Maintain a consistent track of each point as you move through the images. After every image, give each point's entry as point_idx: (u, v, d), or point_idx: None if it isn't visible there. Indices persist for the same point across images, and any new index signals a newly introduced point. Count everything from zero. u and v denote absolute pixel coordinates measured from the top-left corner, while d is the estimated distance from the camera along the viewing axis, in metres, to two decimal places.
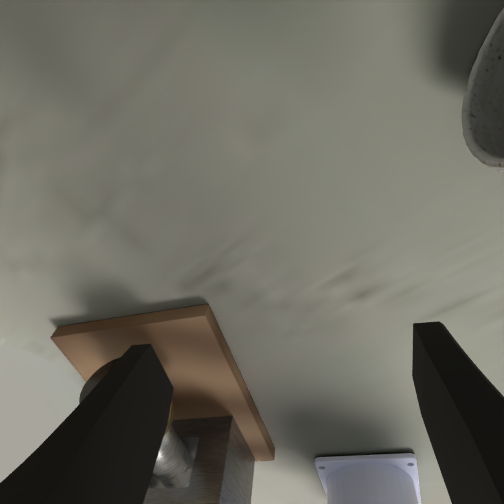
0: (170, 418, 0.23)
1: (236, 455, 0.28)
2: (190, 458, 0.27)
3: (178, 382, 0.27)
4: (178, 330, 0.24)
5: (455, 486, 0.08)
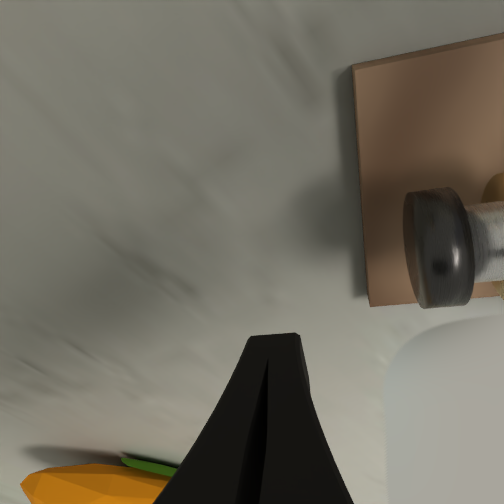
0: None
1: None
2: None
3: None
4: (383, 126, 0.14)
5: None
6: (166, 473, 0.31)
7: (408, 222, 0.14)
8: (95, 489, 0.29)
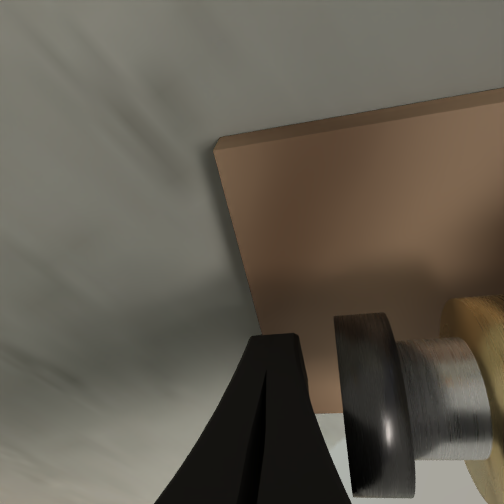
0: None
1: None
2: None
3: (452, 261, 0.11)
4: (264, 220, 0.10)
5: None
6: None
7: None
8: None
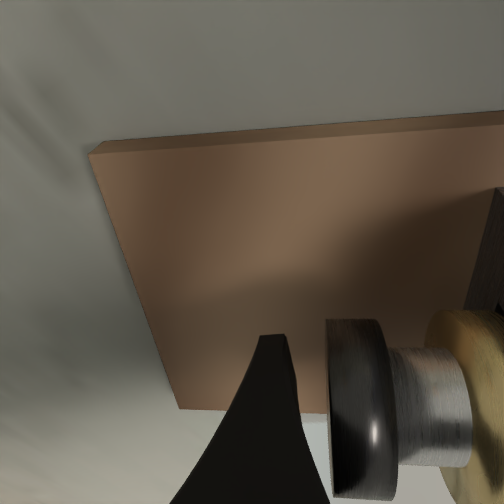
0: None
1: None
2: None
3: (316, 276, 0.11)
4: (142, 223, 0.11)
5: None
6: None
7: (326, 354, 0.10)
8: None
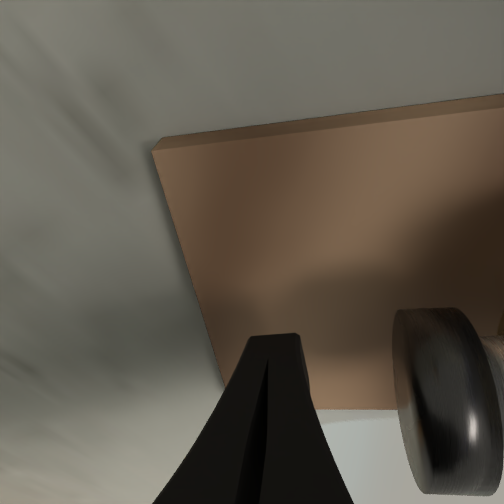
0: None
1: None
2: None
3: (383, 266, 0.11)
4: (204, 219, 0.11)
5: None
6: None
7: (400, 346, 0.10)
8: None
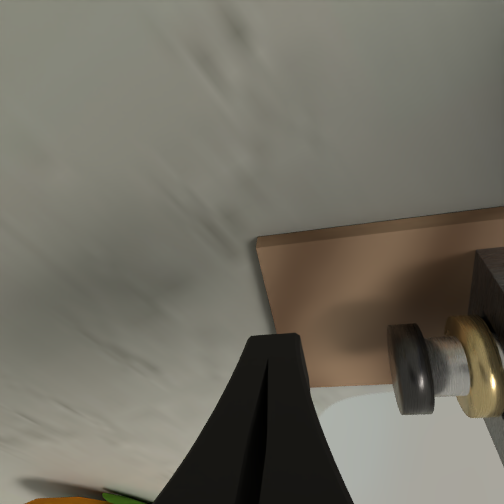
0: (483, 332, 0.16)
1: None
2: None
3: (380, 300, 0.20)
4: (281, 279, 0.20)
5: None
6: None
7: (390, 344, 0.19)
8: None
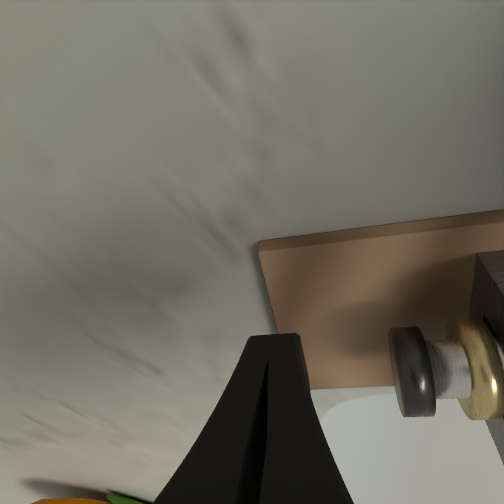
0: (484, 335, 0.16)
1: None
2: None
3: (381, 303, 0.20)
4: (283, 283, 0.20)
5: None
6: None
7: (392, 346, 0.19)
8: None
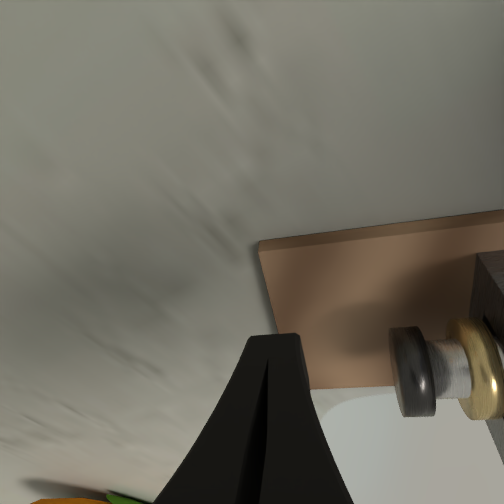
0: (484, 335, 0.16)
1: None
2: None
3: (381, 303, 0.20)
4: (283, 283, 0.20)
5: None
6: None
7: (392, 346, 0.19)
8: None
